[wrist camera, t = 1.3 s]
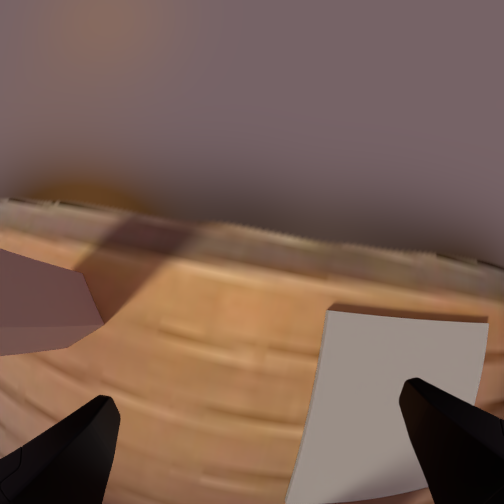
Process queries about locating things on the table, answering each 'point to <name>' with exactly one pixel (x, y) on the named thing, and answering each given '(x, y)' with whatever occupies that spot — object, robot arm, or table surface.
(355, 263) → the table surface
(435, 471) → the robot arm
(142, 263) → the table surface
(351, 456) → the white square plate
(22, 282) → the rose card box
